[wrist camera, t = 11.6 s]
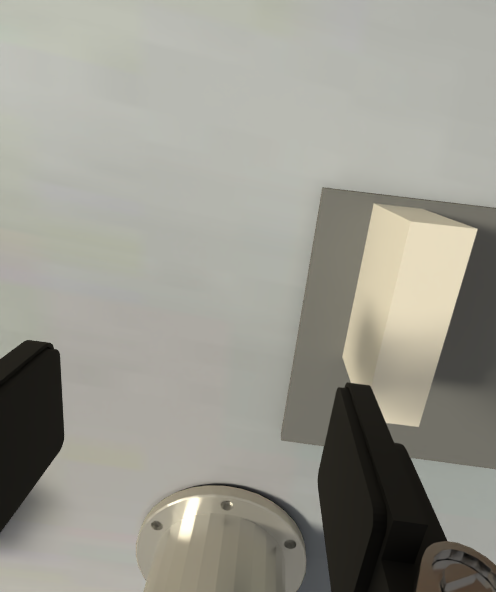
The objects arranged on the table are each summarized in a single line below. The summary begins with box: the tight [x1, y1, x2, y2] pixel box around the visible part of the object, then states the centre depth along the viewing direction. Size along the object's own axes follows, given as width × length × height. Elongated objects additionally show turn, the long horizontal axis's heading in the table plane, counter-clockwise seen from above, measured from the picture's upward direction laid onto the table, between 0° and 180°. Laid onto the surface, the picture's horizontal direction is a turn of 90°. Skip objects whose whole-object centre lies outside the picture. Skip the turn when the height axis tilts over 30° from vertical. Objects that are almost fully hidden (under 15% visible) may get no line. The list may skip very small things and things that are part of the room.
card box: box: [342, 203, 478, 427], centre depth 19 cm, size 9×3×6 cm, turn 174°
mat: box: [281, 188, 496, 469], centre depth 23 cm, size 16×14×1 cm
